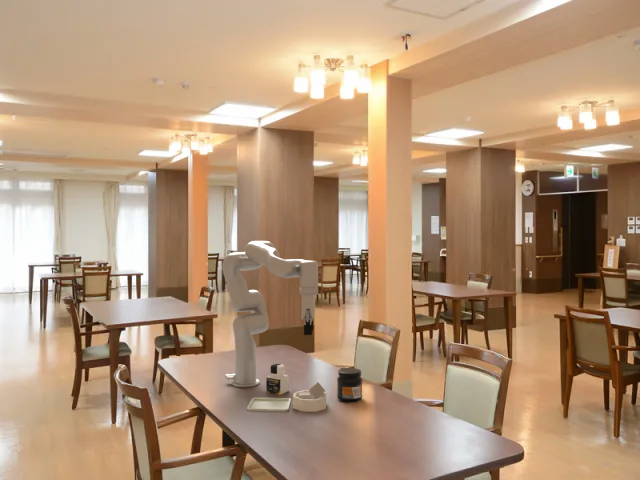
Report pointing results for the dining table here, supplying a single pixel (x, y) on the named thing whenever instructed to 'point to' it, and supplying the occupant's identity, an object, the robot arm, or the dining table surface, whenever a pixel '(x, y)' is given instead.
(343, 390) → the supplement container
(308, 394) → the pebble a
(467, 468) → the dining table surface
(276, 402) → the tray
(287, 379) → the medicine bottle
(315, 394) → the beige small block
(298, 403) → the bowl
